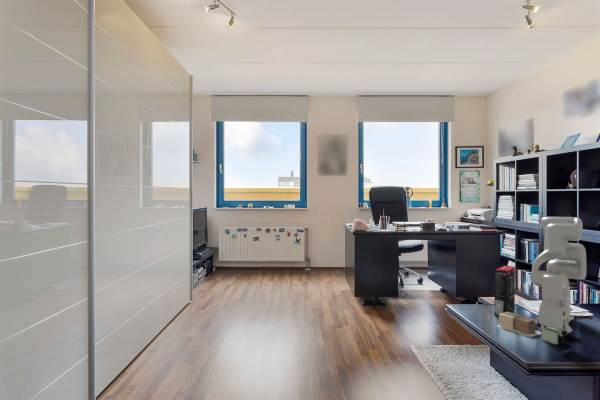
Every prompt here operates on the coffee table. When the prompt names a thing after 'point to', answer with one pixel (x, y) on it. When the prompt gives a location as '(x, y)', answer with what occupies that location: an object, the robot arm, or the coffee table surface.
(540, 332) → the board
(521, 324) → the walnut cube
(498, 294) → the graphics card box
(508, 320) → the maple base
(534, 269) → the robot arm
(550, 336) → the sage block
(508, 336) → the coffee table surface
